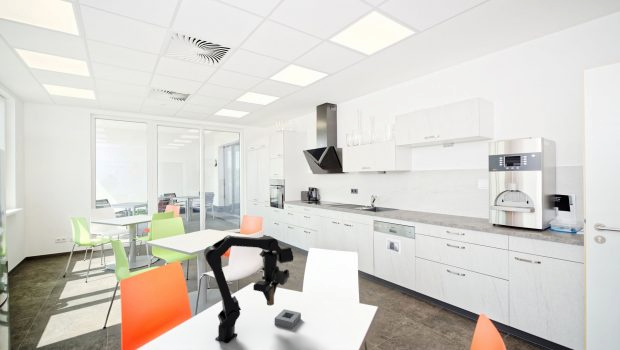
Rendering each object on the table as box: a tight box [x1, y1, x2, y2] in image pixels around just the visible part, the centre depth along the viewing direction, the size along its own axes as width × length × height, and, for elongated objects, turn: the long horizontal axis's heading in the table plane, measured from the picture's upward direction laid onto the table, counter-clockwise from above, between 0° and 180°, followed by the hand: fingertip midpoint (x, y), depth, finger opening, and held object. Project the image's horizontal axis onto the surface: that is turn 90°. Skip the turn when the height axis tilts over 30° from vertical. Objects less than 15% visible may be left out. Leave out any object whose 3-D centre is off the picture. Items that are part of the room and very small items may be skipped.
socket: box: [274, 308, 302, 330], centre depth 127 cm, size 9×9×3 cm
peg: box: [266, 285, 275, 307], centre depth 124 cm, size 3×3×8 cm
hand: (270, 299), depth 124 cm, fingers closed on peg, 3 cm apart
